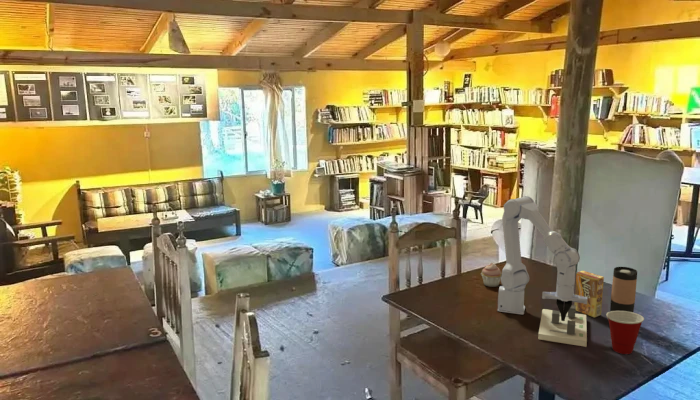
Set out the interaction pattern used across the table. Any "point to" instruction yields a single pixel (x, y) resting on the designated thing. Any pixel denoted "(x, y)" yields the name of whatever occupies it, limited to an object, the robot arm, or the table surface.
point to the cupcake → (491, 275)
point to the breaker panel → (563, 329)
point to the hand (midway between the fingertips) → (562, 319)
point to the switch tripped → (555, 316)
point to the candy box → (589, 293)
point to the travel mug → (623, 289)
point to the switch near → (571, 327)
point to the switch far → (572, 312)
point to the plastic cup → (624, 330)
